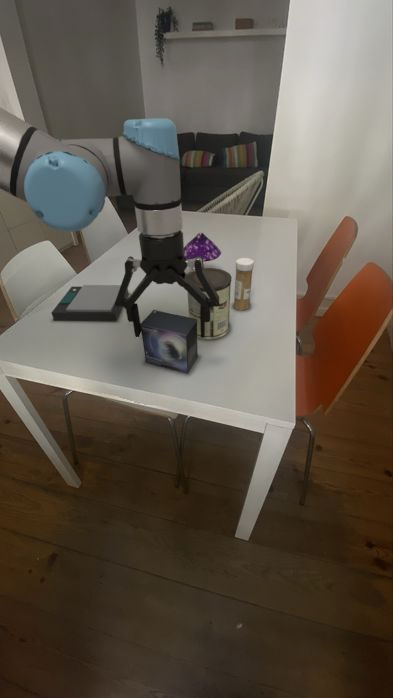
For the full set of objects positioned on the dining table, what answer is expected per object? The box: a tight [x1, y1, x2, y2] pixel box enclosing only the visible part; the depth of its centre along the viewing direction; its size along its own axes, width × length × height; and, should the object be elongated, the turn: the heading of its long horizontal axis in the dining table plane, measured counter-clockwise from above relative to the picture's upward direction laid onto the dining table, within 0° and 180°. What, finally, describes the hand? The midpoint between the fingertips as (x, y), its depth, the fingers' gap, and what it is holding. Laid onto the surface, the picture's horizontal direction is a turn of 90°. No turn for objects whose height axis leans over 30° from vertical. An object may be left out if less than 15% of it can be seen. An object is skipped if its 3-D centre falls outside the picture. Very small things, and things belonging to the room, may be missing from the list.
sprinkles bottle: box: [233, 257, 255, 311], centre depth 85 cm, size 5×5×14 cm
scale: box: [50, 284, 130, 322], centre depth 89 cm, size 17×15×3 cm
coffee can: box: [187, 267, 232, 340], centre depth 77 cm, size 10×10×14 cm
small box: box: [140, 309, 199, 374], centre depth 68 cm, size 11×6×10 cm, turn 68°
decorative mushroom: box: [184, 232, 222, 268], centre depth 98 cm, size 12×12×15 cm
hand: (170, 333), depth 67 cm, fingers open, 13 cm apart
